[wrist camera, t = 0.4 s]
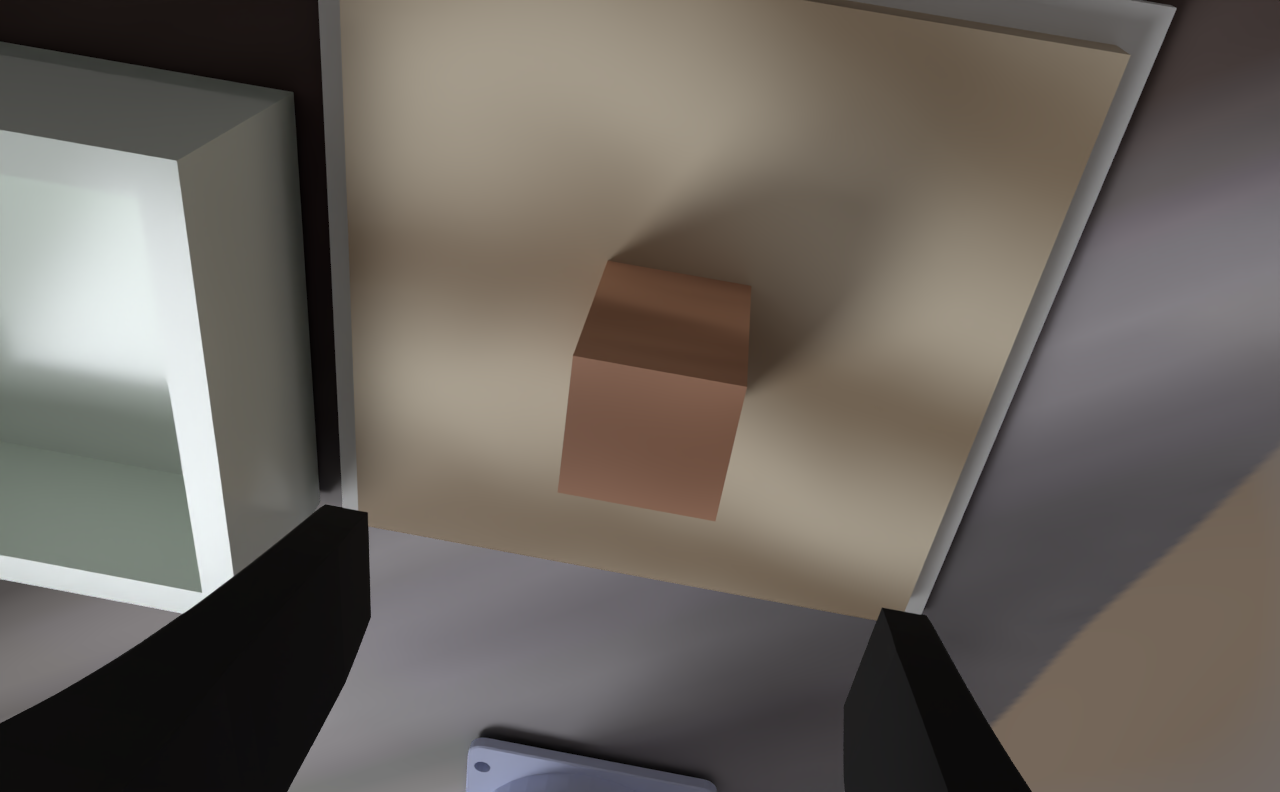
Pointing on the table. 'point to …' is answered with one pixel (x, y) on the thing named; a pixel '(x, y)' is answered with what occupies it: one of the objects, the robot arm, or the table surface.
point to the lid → (696, 275)
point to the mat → (1047, 3)
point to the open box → (148, 329)
